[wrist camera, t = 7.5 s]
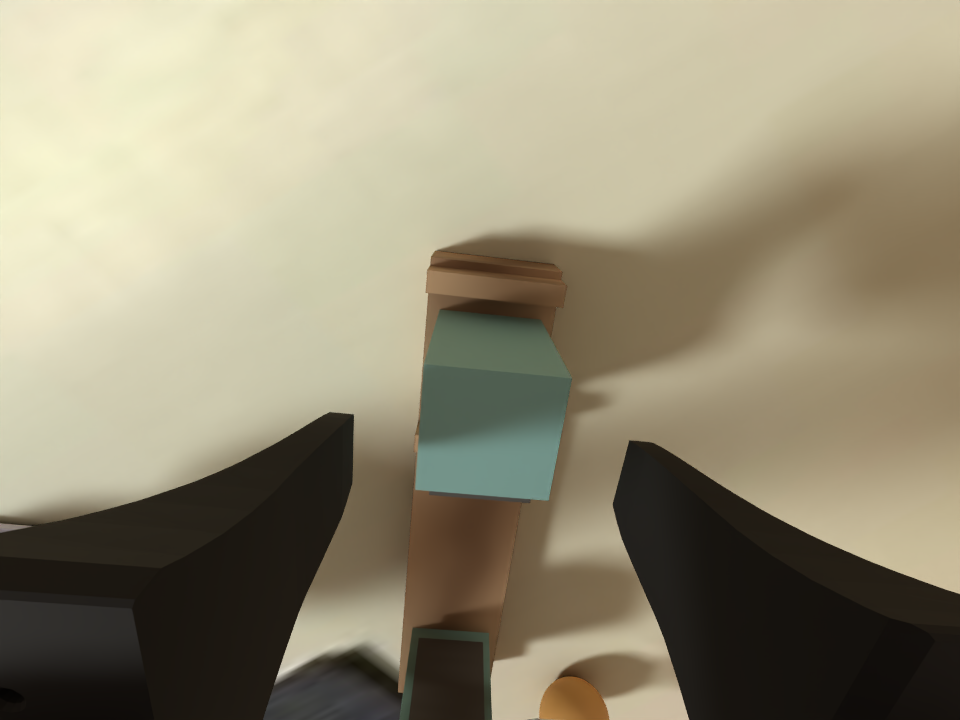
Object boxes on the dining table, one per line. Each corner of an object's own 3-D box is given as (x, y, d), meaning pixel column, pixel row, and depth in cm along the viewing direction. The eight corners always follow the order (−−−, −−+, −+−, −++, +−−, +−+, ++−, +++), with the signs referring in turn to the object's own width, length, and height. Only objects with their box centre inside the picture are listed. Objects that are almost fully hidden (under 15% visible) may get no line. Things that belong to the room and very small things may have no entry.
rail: (403, 657, 27) (375, 836, 19) (435, 250, 19) (409, 288, 11) (485, 663, 27) (490, 841, 20) (553, 264, 19) (605, 310, 12)
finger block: (431, 414, 19) (413, 506, 14) (439, 309, 18) (423, 364, 12) (524, 422, 19) (545, 516, 14) (540, 319, 18) (571, 378, 12)
